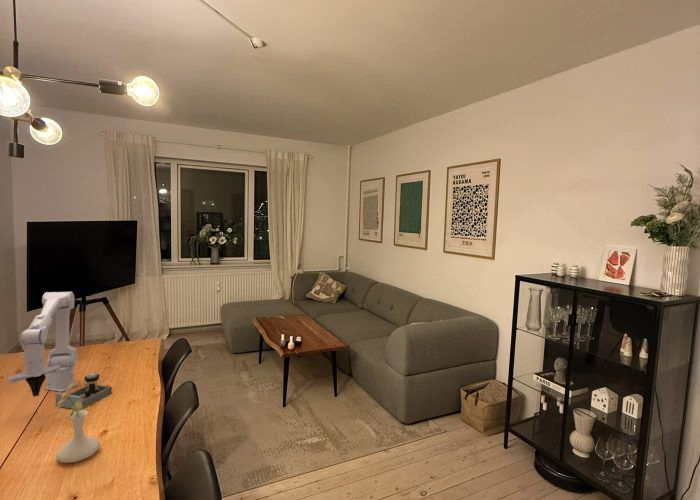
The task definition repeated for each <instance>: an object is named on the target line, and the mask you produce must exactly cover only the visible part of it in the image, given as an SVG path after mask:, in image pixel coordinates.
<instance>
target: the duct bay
mask: <svg viewBox="0 0 700 500" xmlns="http://www.w3.org/2000/svg"><path fill="white" fill-rule="evenodd" d="M97 388H98V389H99V392H98V393H96V394H94V395H92V396H90V397H88V398H83V399H81V403H82V405H83V408H82V409H81V410H84V409H85V408H86V407H89V406H90V405H92V404H94V403H96V402H98V401H100V400H101V399H103V398H106V397H108V396H110V395H112V393H113V392H112V391H113V390H112V389H113V388H112V386H108V385H103V384H102V385H101V384H97ZM86 390H87V385H85V386H83V387H81V388H78V389H76V390H73V391H70V392H69V394H68V395H75V396H81V395H83V394H85V393H86ZM83 396H84V395H83ZM81 397H82V396H81Z"/></svg>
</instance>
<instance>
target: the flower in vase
mask: <svg viewBox="0 0 700 500" xmlns="http://www.w3.org/2000/svg"><path fill="white" fill-rule="evenodd" d="M72 386H73V384H70V386H69V387H68V388H67V390H65V393H63V394H64V395H63V396H62V400H61V401H60V402H59V403H58V404H57V406H55V410H59V409H60V408H61V407H60V406H61V405H62V404H63V402H64V401H65V400H66V399H68V398H69V399H70V401H71V402H72V403H73V405H74V406H73V409H72V411H71V413H70V414H69V415H68V416H67V420H69V419H70V421H71V422H72V425H73V435H72V437H71V439H70V440H68V441H67V442H66V443H65V444H63V445H62V447H60V448H59V449H58V451H57V452H56V455H55V458H56V460H57V461H59V462H60V463H63V464H64V463H65V464H68V463H77V462H79V461H83V460H85V459H88V458H89V457H91V456H93V455H94V454H95V453H97V452H98V450H99V448H100V446H101V443H100V441H99V440H98V439H97V438H95V437H93V436H89V435H85V434H84V430H83V426H84V419H85V417H86V416H87V414H88V410H86V409H85V410H84V408H83V405H82V403H81V402H80V400H78V401H77V402H76V403H75V404H74V402H73V401H72V400H71V398H70V397H69V395H68V394H69V393H71V392H72V388H73V387H72ZM82 408H83V409H82Z"/></svg>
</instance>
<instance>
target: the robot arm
mask: <svg viewBox="0 0 700 500" xmlns="http://www.w3.org/2000/svg"><path fill="white" fill-rule="evenodd" d="M41 303H42V309H41V311H40V314H37V315H36V316H35V317H34V319H33V320H32V322H30V324H29V327H28V328H27V329H25V330H23V331H22V332H21V334H20V339H19V341H20V344H21V346H22V347H21V349H22V350H23V354H24V355H23V357H24V371H23V372H20V373H17V374H14V375H12V376H8V384H14V383H16V382H20V381H23V380H25V381H26V383H27V384H28V386H29V387H30V390H31V393H32V396H33V397H38V396H40V392H41V391H40V390H41V388H42V385H43V384H44V382H45V380H46V387H45V388H44V389H45V390H48V391H55V392H58V393H63V392H66V391H67V388H68V387H69V386H70V384H73V386H72V388H74V387H76V386H79V382H74V367H75V366H76V365H77V364H78V359H79V354H78V349H77V348H76V347H75V346H72V345H70V313H71V312H70V311H71V310H73V309H74V308H75V294H74V292H73V291H57V292H56V291H51V292H49V291H46V292H44V294H43V295H42V298H41ZM54 314H55V347H53V348H52V349H51V350H50V351H49V352H48V355H47V359H46V362H45V343H46V342H47V338H48V335H49V334H48V333H49V328H50V327H51V325H52V322H53V318H52V317H53V315H54ZM45 365H46V366H47V367H46V366H45Z"/></svg>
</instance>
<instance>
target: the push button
mask: <svg viewBox="0 0 700 500" xmlns="http://www.w3.org/2000/svg"><path fill="white" fill-rule="evenodd" d="M100 376H101V375H100V374H99V373H97V372H94V371H93V372H90V373H87V374H86V375H85V376H84V378H83V379H84V381H85V382H86V386H87V390H86V393H85V394H83V395H81V399H82V398H83V399H86V398H88V397H90V396H92V395H94V394H96V393H98V392H99V389H98V388H97V385H98V381H99V379H100Z"/></svg>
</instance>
